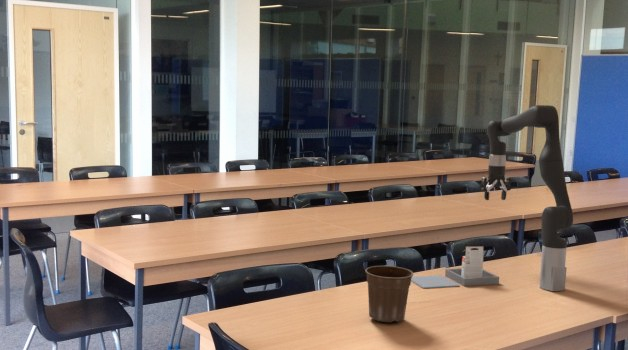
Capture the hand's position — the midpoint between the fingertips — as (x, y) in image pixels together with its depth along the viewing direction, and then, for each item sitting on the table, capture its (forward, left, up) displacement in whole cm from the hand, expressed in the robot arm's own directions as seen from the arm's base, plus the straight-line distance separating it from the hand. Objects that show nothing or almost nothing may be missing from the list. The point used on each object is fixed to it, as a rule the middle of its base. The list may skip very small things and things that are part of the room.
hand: (495, 199), depth 323 cm
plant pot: (-64, +80, -29) cm, 106 cm away
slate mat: (-26, +44, -29) cm, 59 cm away
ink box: (-26, +25, -29) cm, 47 cm away
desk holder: (-26, +26, -29) cm, 47 cm away
